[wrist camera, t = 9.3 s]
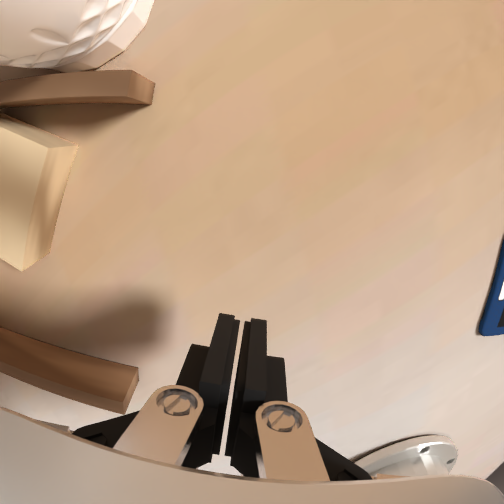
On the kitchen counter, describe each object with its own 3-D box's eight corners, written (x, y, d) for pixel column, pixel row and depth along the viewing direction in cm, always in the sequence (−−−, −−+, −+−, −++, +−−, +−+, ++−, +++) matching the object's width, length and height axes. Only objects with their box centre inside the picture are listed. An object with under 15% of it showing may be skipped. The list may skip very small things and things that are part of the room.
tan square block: (52, 251, 15) (21, 272, 12) (-17, 209, 14) (-49, 223, 12) (81, 144, 14) (48, 148, 11) (5, 113, 13) (-30, 113, 10)
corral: (138, 380, 17) (124, 414, 15) (-26, 326, 17) (-48, 347, 14) (155, 83, 12) (131, 70, 10) (-41, 99, 12) (-73, 99, 9)
